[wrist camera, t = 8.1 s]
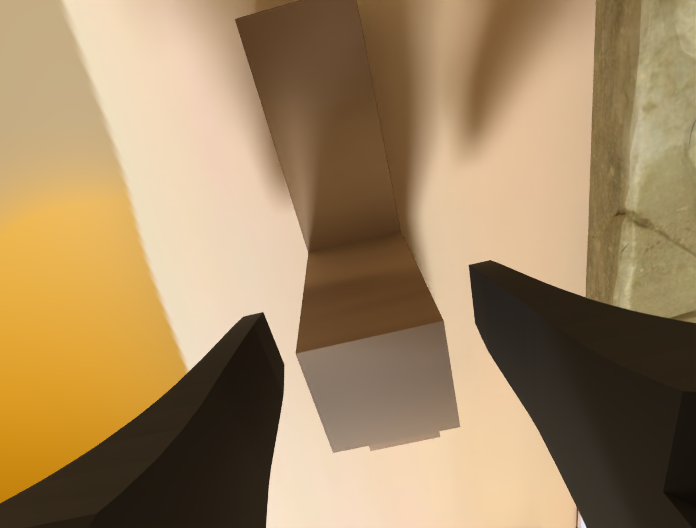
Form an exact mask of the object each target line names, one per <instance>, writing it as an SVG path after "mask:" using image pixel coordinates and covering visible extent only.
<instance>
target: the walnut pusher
mask: <svg viewBox="0 0 696 528" xmlns="http://www.w3.org/2000/svg"><path fill="white" fill-rule="evenodd" d="M235 21H236V24H237V27H238V30H239V34H240V37H241V40H242V43H243V46H244V50H245V53H246V56H247V59H248V62H249V65H250V69H251V72H252V75H253V78H254V81H255V85H256V88H257V91H258V94H259V97H260V100H261V104H262V107H263V110H264V113H265V116H266V120H267V123H268V126H269V129H270V132H271V135H272V139H273V142H274V145H275V148H276V151H277V155H278V158H279V161H280V164H281V167H282V170H283V174H284V177H285V180H286V183H287V186H288V190H289V193H290V196H291V199H292V202H293V205H294V209H295V212H296V215H297V218H298V221H299V225H300V228H301V231H302V234H303V237H304V240H305V244H306V247H307V250H308V261H307V269H306V277H305V284H304V292H303V300H302V308H301V316H300V324H299V332H298V340H297V348H296V356H297V358H298V361H299V364H300V366H301V369H302V372H303V374H304V377H305V379H306V382H307V385H308V387H309V390H310V393H311V395H312V398H313V401H314V403H315V406H316V409H317V411H318V414H319V416H320V419H321V422H322V424H323V427H324V430H325V432H326V435H327V438H328V440H329V443H330V446H331V448H332V451H333V453H335V452H340V451H345V450H350V449H355V448H359V447H364V446H369V447H370V451H373V450H378V449H383V448H387V447H392V446H397V445H402V444H407V443H412V442H417V441H422V440H427V439H432V438H437V437H440V433H439V431H443V430H447V429H452V428H457V427H460V423H459V416H458V410H457V403H456V397H455V391H454V384H453V378H452V372H451V365H450V359H449V352H448V346H447V340H446V333H445V327H444V321H443V319H442V317H441V314H440V312H439V310H438V308H437V306H436V304H435V302H434V300H433V298H432V296H431V293H430V291H429V289H428V287H427V285H426V283H425V281H424V279H423V277H422V275H421V273H420V270H419V268H418V266H417V264H416V262H415V260H414V258H413V256H412V254H411V252H410V250H409V247H408V245H407V243H406V241H405V239H404V237H403V235H402V233H401V230H400V225H399V220H398V215H397V209H396V204H395V199H394V194H393V189H392V183H391V178H390V173H389V168H388V163H387V157H386V152H385V147H384V142H383V137H382V131H381V126H380V121H379V116H378V111H377V105H376V100H375V95H374V90H373V85H372V79H371V74H370V69H369V64H368V58H367V53H366V48H365V43H364V38H363V32H362V27H361V22H360V17H359V12H358V6H357V1H356V0H300V1H297V2H293V3H290V4H286V5H283V6H279V7H276V8H272V9H269V10H265V11H262V12H258V13H255V14H251V15H247V16H244V17H240V18H237V19H235Z"/></svg>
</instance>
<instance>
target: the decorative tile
mask: <svg viewBox="0 0 696 528" xmlns="http://www.w3.org/2000/svg"><path fill="white" fill-rule="evenodd" d="M586 298H589V299H592V300H595V301H599V302H602V303H606V304H610V305H613V306H617V307H621V308H625V309H628V310H632V311H637V312H641V313H645V314H650V315H655V316H660V317H665V318H670V319H675V320H681V321H686V322H692V323H696V0H596V21H595V45H594V79H593V107H592V134H591V167H590V196H589V229H588V250H587V275H586Z"/></svg>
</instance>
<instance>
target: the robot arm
mask: <svg viewBox="0 0 696 528" xmlns="http://www.w3.org/2000/svg"><path fill="white" fill-rule="evenodd" d="M469 271H470V280H471V289H472V298H473V308H474V317H475V324H476V326H477V328H478V330H479V332H480V335H481V337H482V339H483V341H484V343H485V345H486V347H487V349H488V351H489V353H490V355H491V356H492V358H493V359H494V361H495V363H496V364H497V366H498V367H499V369H500V370H501V372H502V373H503V375H504V377H505V378H506V380H507V381H508V383H509V384H510V386H511V387H512V389H513V390H514V392H515V393H516V395H517V397H518V398H519V400H520V401H521V403H522V404H523V406H524V407H525V409H526V410H527V412H528V414H529V415H530V417H531V418H532V420H533V422H534V424H535V425H536V427H537V429H538V430H539V432H540V434H541V436H542V438H543V440H544V442H545V444H546V446H547V448H548V450H549V452H550V454H551V456H552V458H553V460H554V462H555V464H556V466H557V468H558V470H559V472H560V474H561V476H562V478H563V480H564V482H565V484H566V486H567V488H568V490H569V492H570V494H571V496H572V498H573V500H574V502H575V504H576V506H577V508H578V526H577V528H696V323H692V322H686V321H681V320H675V319H670V318H665V317H660V316H655V315H650V314H645V313H641V312H637V311H632V310H628V309H625V308H621V307H617V306H613V305H610V304H606V303H602V302H599V301H595V300H592V299H589V298H586V297H583V296H580V295H577V294H574V293H571V292H568V291H565V290H562V289H560V288H557V287H554V286H552V285H549V284H547V283H544V282H542V281H539V280H537V279H534V278H532V277H530V276H527V275H525V274H523V273H520V272H518V271H516V270H513V269H511V268H509V267H506V266H504V265H501V264H499V263H496V262H494V261H491V260H489V261H485V262H480V263H476V264H472V265H469ZM283 392H284V363H283V360H282V358H281V355H280V353H279V350H278V348H277V345H276V343H275V340H274V338H273V335H272V333H271V330H270V328H269V325H268V323H267V320H266V318H265V315H264V313H263V312H262V313H258V314H253V315H249V316H245V317H243V318H242V319H241V320H239V321H238V322H237V323H236V324H235V325H234V326H233V327H232V328H231V329H230V330H229V331H228V332H227V333H226V334H225V336H224V337H223V338H222V339H221V340H220V341H219V342H218V343H217V344H216V345H215V346H214V347H213V348H212V349H211V350H210V351H209V352H208V353H207V354H206V355H205V356H204V357H203V359H202V360H201V361H200V362H198V363H197V364H196V365H195V366H194V367H193V368H192V369H191V370H190V371H189V372H188V373H187V374H186V375H185V376H184V377H183V378H182V379H181V380H180V381H179V382H178V383H177V384H176V385H175V386H173V387H172V388H171V389H170V390H169V391H168V392H167V393H166V394H164V395H163V396H162V397H161V398H160V399H159V400H157V401H156V402H155V403H154V404H152V405H151V406H150V407H149V408H147V409H146V410H145V411H144V412H143V413H141V414H140V415H139V416H137V417H136V418H135V419H133V420H132V421H131V422H129V423H128V424H127V425H125V426H124V427H123V428H121V429H120V430H118V431H117V432H116V433H114V434H113V435H111V436H110V437H109V438H107V439H106V440H104V441H103V442H102V443H100V444H99V445H97V446H96V447H94V448H93V449H91V450H90V451H88V452H87V453H85V454H84V455H82V456H80V457H79V458H78V459H76V460H74V461H73V462H71V463H69V464H68V465H66V466H65V467H63V468H61V469H60V470H58V471H57V472H55V473H53V474H52V475H50V476H48V477H47V478H45V479H43V480H42V481H40V482H38V483H36V484H35V485H33V486H31V487H29V488H28V489H26V490H24V491H22V492H20V493H18V494H17V495H15V496H13V497H12V498H9V499H8V500H6V501H4V502H2V503H0V528H266V516H267V502H268V488H269V479H270V471H271V464H272V459H273V453H274V447H275V442H276V436H277V430H278V424H279V419H280V413H281V407H282V401H283Z"/></svg>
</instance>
